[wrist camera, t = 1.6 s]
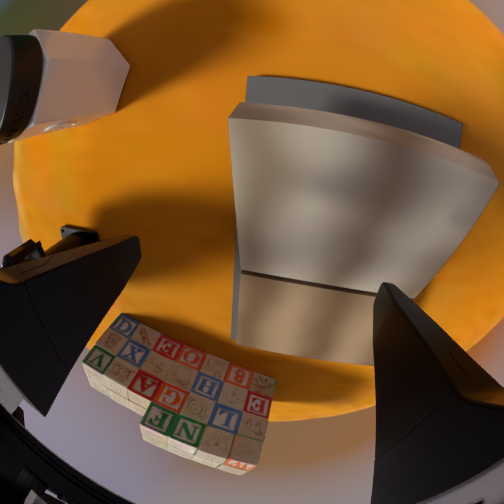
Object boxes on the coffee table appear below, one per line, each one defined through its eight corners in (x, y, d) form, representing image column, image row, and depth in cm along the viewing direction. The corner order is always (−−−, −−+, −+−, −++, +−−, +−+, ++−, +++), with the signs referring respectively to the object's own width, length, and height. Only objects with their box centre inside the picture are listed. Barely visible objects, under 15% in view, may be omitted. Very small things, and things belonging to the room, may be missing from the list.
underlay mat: (233, 332, 28) (231, 338, 27) (250, 77, 17) (247, 75, 16) (377, 355, 26) (378, 362, 25) (456, 123, 14) (462, 123, 13)
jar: (71, 133, 21) (-25, 163, 11) (65, 64, 18) (-29, 72, 7) (135, 107, 19) (17, 124, 9) (129, 29, 15) (21, 8, 5)
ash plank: (247, 248, 22) (240, 269, 21) (239, 102, 12) (228, 118, 11) (412, 277, 20) (414, 298, 18) (486, 160, 10) (500, 182, 9)
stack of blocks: (122, 339, 35) (77, 401, 24) (121, 310, 31) (66, 378, 21) (261, 399, 34) (240, 477, 23) (278, 378, 31) (258, 468, 20)
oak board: (241, 330, 26) (236, 344, 25) (246, 261, 22) (240, 273, 21) (376, 351, 24) (378, 366, 22) (406, 288, 20) (412, 302, 19)
